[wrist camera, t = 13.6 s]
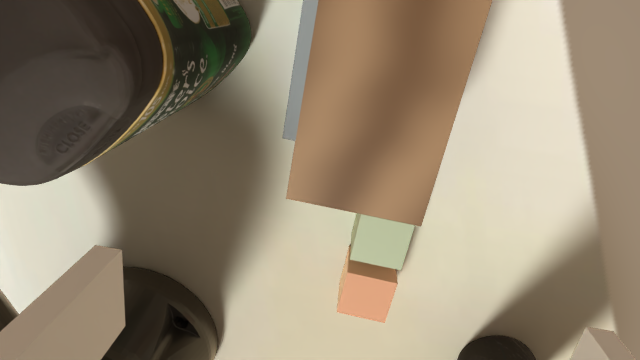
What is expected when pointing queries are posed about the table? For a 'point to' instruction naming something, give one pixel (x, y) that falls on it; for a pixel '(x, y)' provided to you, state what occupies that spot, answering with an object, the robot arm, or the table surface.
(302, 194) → the tan rectangular box
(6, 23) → the coffee jar
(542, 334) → the table surface
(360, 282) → the terracotta block
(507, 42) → the table surface
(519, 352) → the travel mug
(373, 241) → the sage green block
